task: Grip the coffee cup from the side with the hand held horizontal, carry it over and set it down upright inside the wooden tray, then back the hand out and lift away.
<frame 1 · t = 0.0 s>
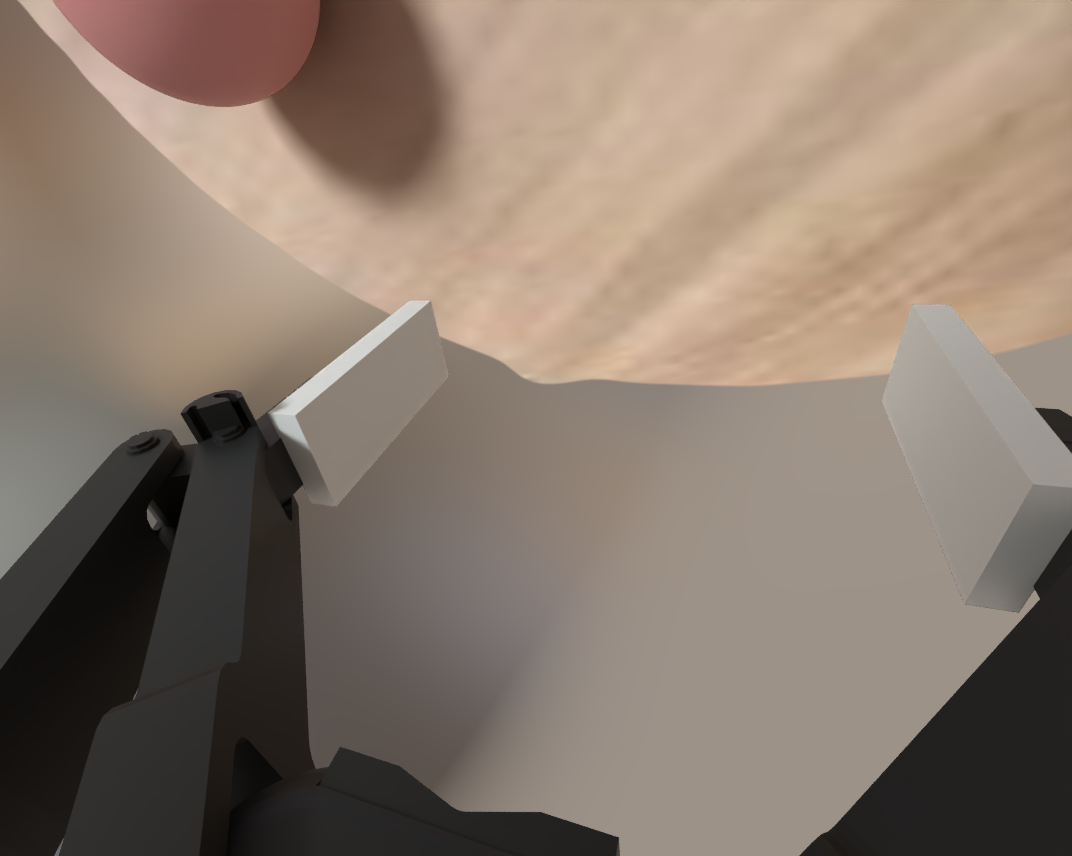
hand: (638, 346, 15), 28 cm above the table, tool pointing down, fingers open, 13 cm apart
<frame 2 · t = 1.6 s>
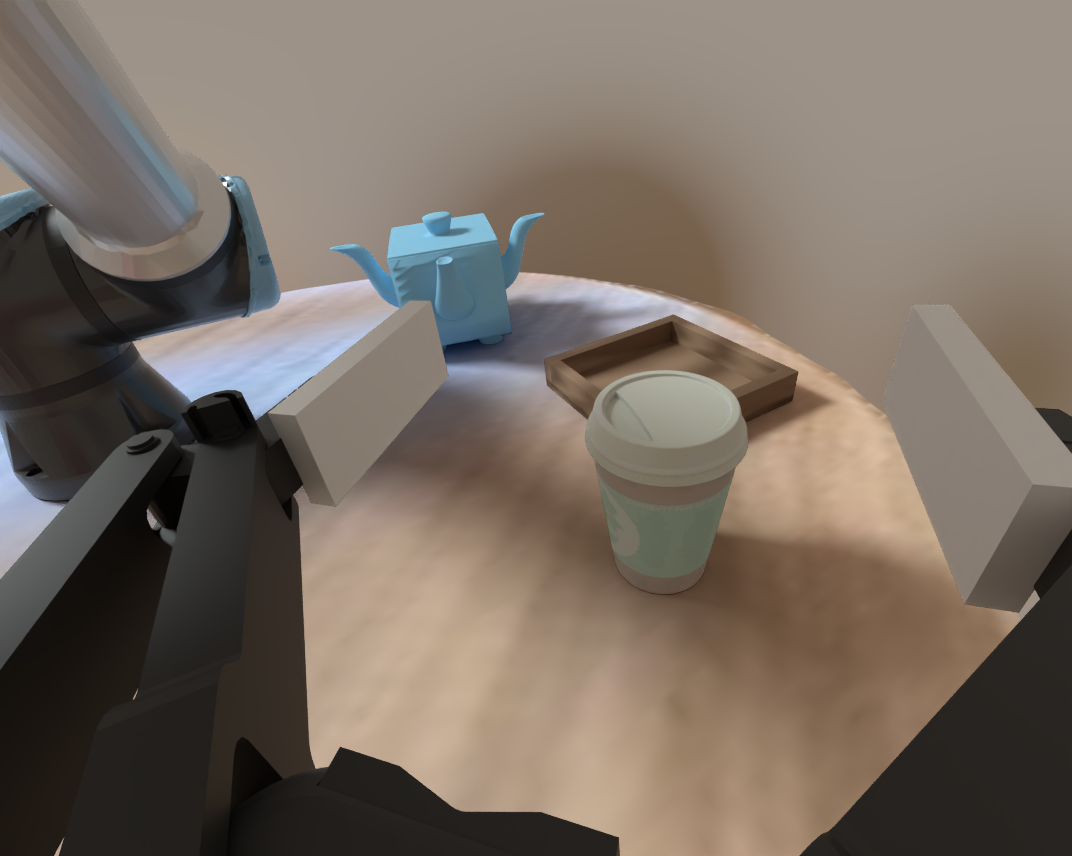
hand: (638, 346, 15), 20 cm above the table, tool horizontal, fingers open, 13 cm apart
coffee cup: (658, 560, 34), on the table
wooden tray: (661, 392, 50), on the table
teakettle: (461, 337, 66), on the table
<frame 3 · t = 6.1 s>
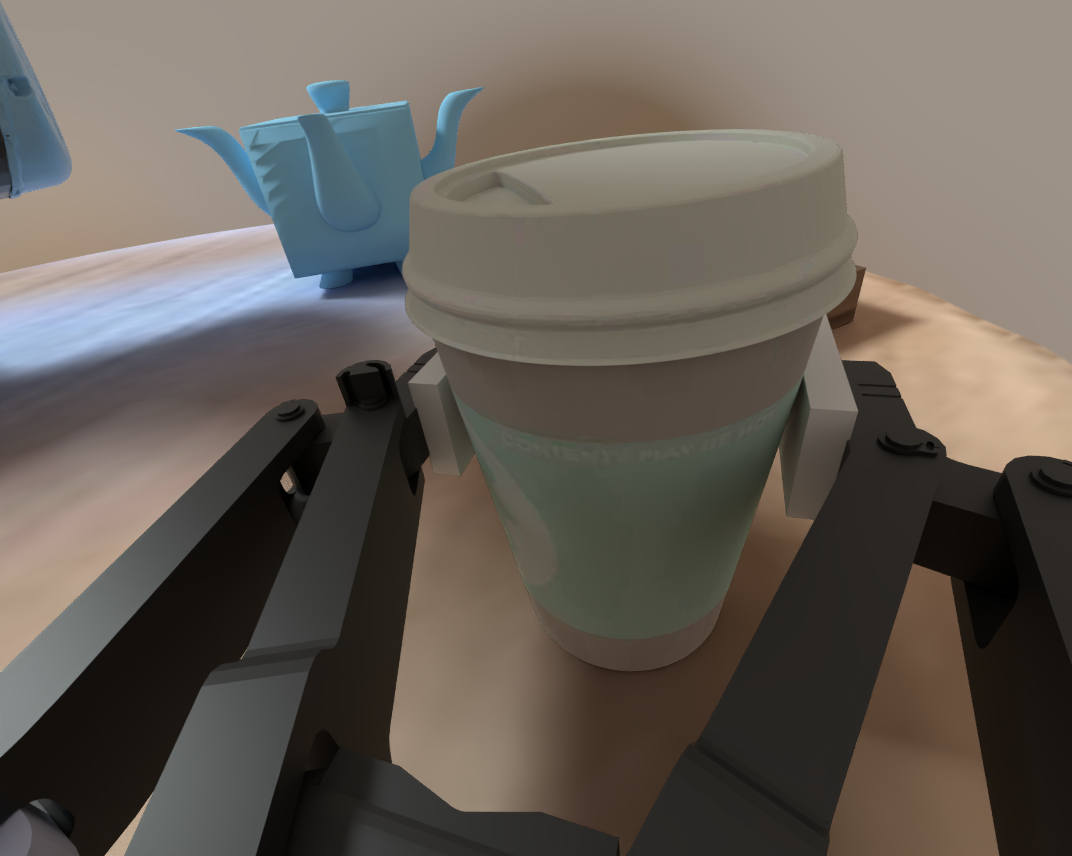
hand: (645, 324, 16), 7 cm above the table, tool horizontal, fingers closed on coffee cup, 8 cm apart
coffee cup: (623, 589, 16), on the table, touching gripper
wooden tray: (643, 317, 33), on the table
teakettle: (378, 269, 49), on the table
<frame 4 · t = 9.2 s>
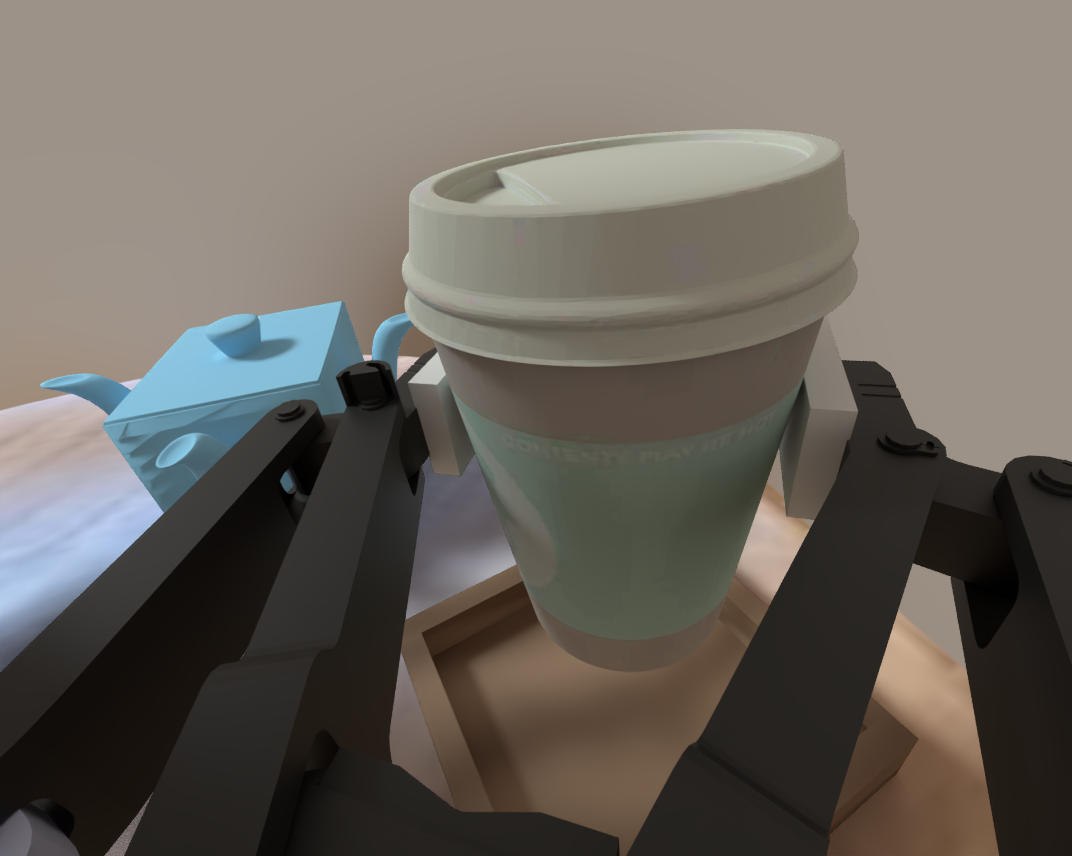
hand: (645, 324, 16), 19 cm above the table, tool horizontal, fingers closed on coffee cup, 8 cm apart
coffee cup: (623, 589, 16), point 12 cm above the table, touching gripper
wooden tray: (618, 708, 25), on the table
teakettle: (310, 501, 41), on the table
when the fingers open (9 cm above the table, at t = 12.2 s): coffee cup drops 1 cm, resting on wooden tray.
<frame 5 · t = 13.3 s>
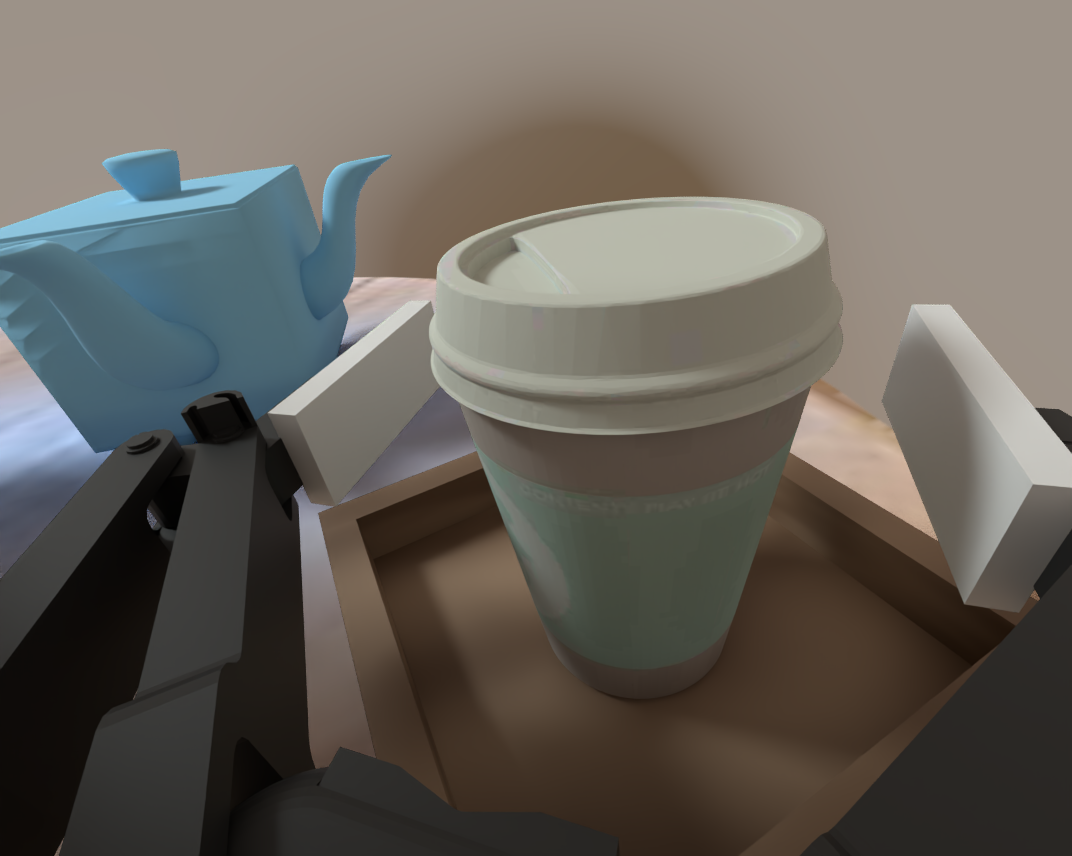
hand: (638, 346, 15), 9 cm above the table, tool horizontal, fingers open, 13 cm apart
coffee cup: (632, 617, 17), point 1 cm above the table, touching wooden tray
wooden tray: (625, 621, 18), on the table
teakettle: (254, 406, 34), on the table
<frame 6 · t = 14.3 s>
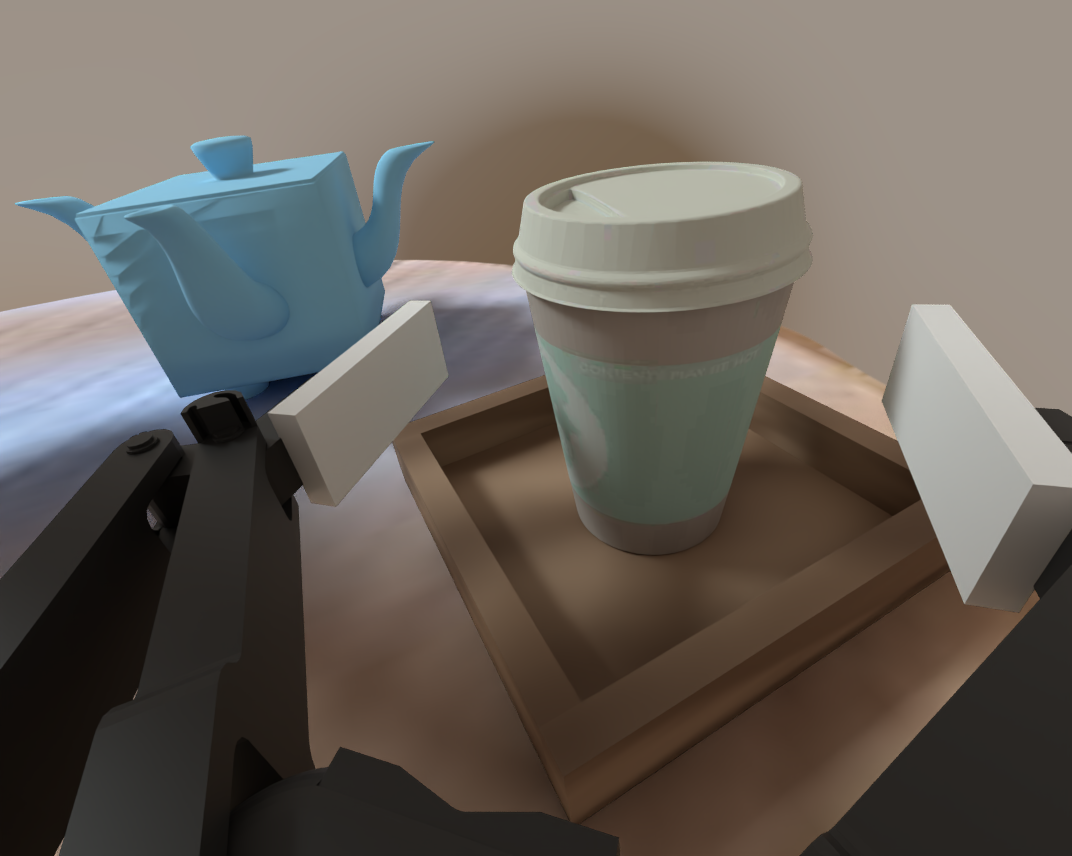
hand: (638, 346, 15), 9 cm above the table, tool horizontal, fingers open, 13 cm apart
coffee cup: (646, 505, 21), point 1 cm above the table, touching wooden tray
wooden tray: (641, 511, 22), on the table
teakettle: (306, 366, 38), on the table
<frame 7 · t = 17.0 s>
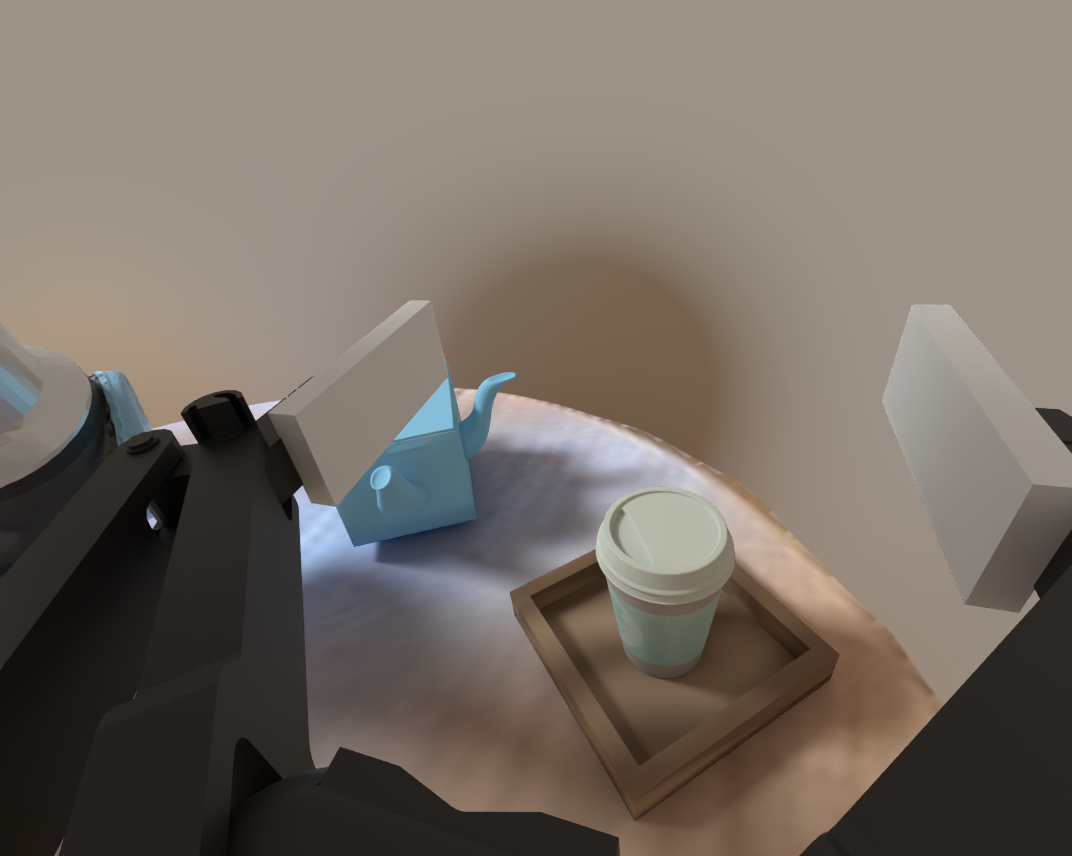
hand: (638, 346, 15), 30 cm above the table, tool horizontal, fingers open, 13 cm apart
coffee cup: (661, 643, 39), point 1 cm above the table, touching wooden tray
wooden tray: (658, 644, 39), on the table
teakettle: (420, 507, 56), on the table
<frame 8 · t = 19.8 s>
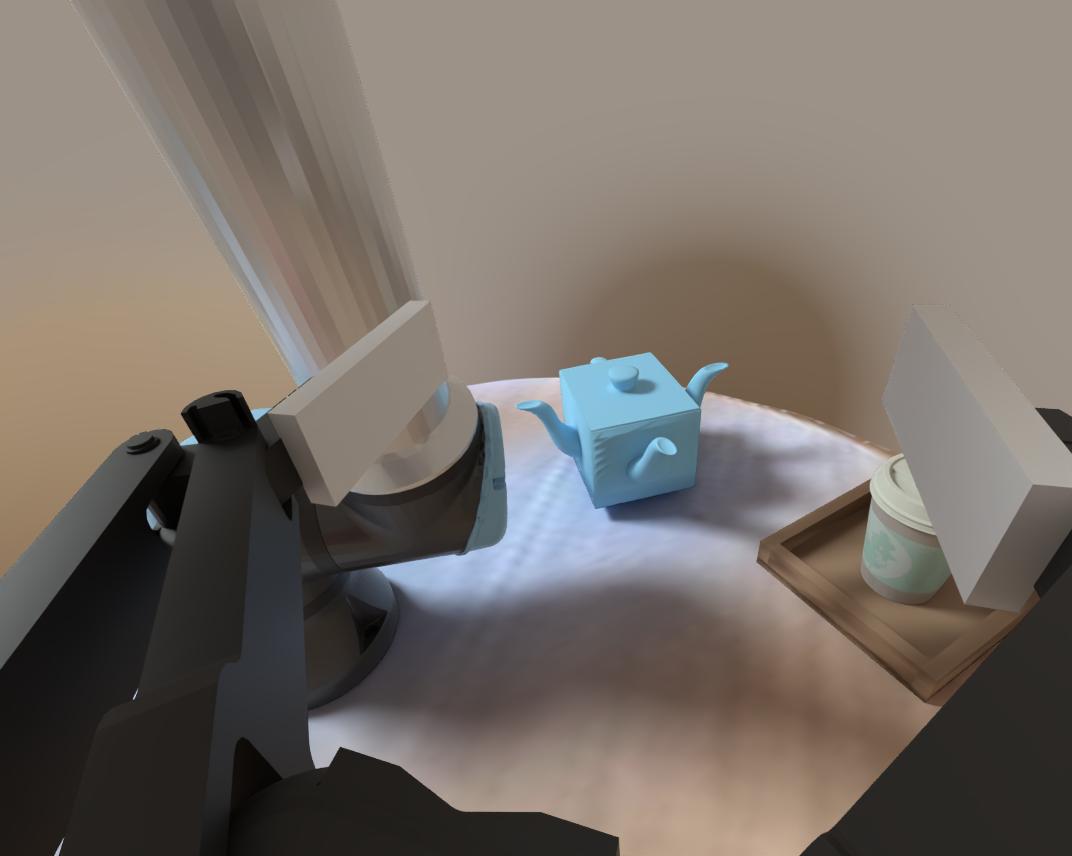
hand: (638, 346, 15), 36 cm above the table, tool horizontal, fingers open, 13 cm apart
coffee cup: (895, 579, 48), point 1 cm above the table, touching wooden tray
wooden tray: (890, 581, 48), on the table
teakettle: (628, 479, 65), on the table
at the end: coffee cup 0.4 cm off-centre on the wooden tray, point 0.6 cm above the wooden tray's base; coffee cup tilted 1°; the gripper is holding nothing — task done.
